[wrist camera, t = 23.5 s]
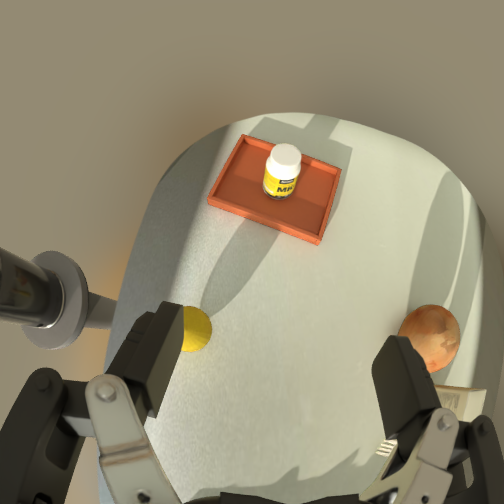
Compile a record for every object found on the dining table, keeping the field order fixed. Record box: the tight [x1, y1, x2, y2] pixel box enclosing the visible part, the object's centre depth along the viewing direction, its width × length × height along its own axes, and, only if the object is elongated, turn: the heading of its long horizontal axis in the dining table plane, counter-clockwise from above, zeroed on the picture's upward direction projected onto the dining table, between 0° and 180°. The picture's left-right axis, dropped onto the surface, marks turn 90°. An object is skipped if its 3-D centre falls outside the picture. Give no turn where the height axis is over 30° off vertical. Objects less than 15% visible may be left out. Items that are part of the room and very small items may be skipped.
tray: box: [207, 134, 342, 245], centre depth 41 cm, size 17×13×2 cm
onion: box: [398, 305, 460, 373], centre depth 31 cm, size 10×10×10 cm
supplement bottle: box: [263, 143, 301, 200], centre depth 37 cm, size 5×5×8 cm
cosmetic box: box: [434, 385, 486, 422], centre depth 26 cm, size 6×4×12 cm
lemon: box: [181, 306, 212, 352], centre depth 31 cm, size 6×6×8 cm
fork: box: [375, 439, 397, 457], centre depth 28 cm, size 3×20×2 cm, turn 58°
